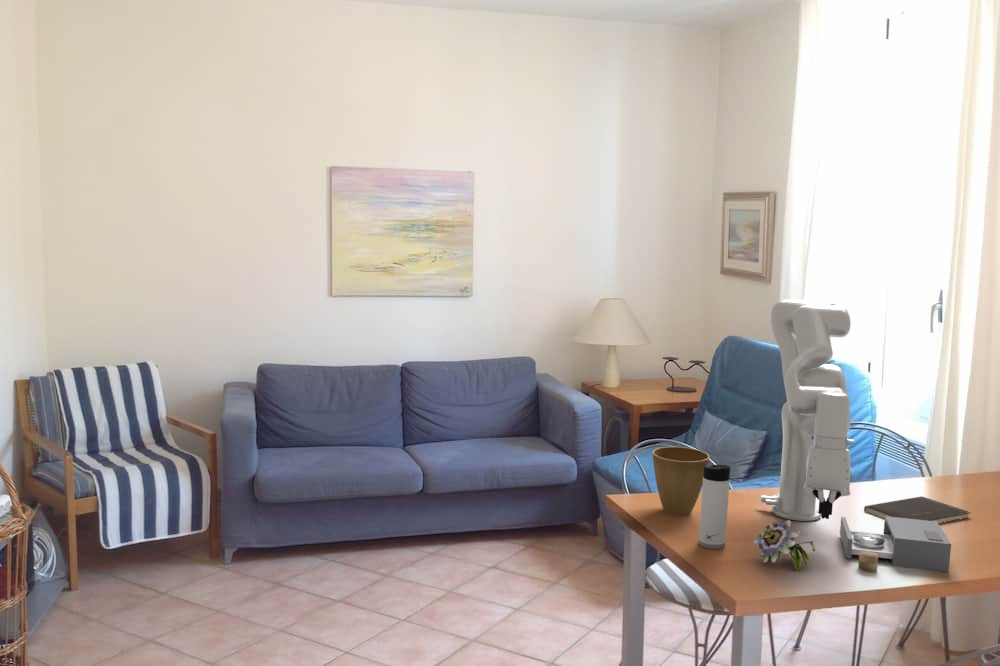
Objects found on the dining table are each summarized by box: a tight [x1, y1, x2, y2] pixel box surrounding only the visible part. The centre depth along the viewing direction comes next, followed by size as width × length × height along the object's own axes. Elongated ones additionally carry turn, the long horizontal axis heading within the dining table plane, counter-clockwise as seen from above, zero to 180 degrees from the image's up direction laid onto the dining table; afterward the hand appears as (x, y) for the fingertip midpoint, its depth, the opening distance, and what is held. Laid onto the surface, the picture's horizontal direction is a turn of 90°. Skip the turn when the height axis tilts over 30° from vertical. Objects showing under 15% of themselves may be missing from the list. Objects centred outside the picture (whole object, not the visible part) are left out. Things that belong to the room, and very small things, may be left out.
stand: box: [857, 551, 879, 573], centre depth 221 cm, size 4×4×4 cm
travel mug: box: [698, 464, 731, 550], centre depth 232 cm, size 6×7×20 cm
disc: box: [853, 533, 884, 549], centre depth 233 cm, size 7×7×2 cm
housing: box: [882, 516, 952, 573], centre depth 230 cm, size 12×17×7 cm
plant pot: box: [652, 446, 710, 516], centre depth 258 cm, size 15×15×16 cm
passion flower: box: [752, 519, 816, 572], centre depth 223 cm, size 11×11×12 cm
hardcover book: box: [863, 496, 972, 524], centre depth 263 cm, size 16×23×2 cm
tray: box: [839, 516, 894, 560], centre depth 233 cm, size 12×17×5 cm
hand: (824, 517), depth 234 cm, fingers closed
